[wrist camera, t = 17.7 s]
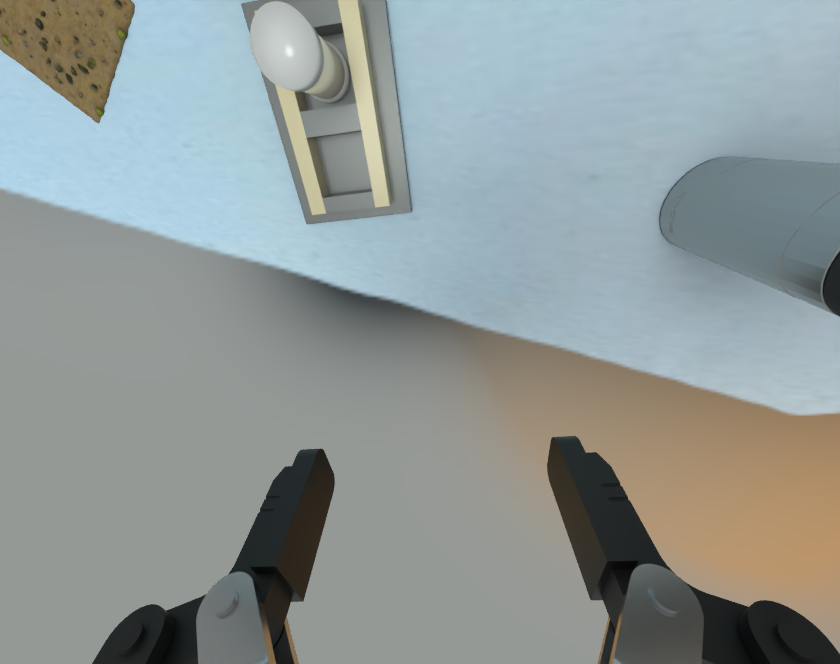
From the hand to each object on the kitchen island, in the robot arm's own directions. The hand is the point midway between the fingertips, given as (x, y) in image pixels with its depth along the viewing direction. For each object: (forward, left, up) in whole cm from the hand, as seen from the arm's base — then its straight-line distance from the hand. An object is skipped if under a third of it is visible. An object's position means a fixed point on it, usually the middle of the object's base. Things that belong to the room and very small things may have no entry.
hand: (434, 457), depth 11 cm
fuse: (+8, -16, -29) cm, 34 cm away
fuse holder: (+8, -12, -30) cm, 33 cm away
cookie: (+32, -23, -31) cm, 50 cm away
